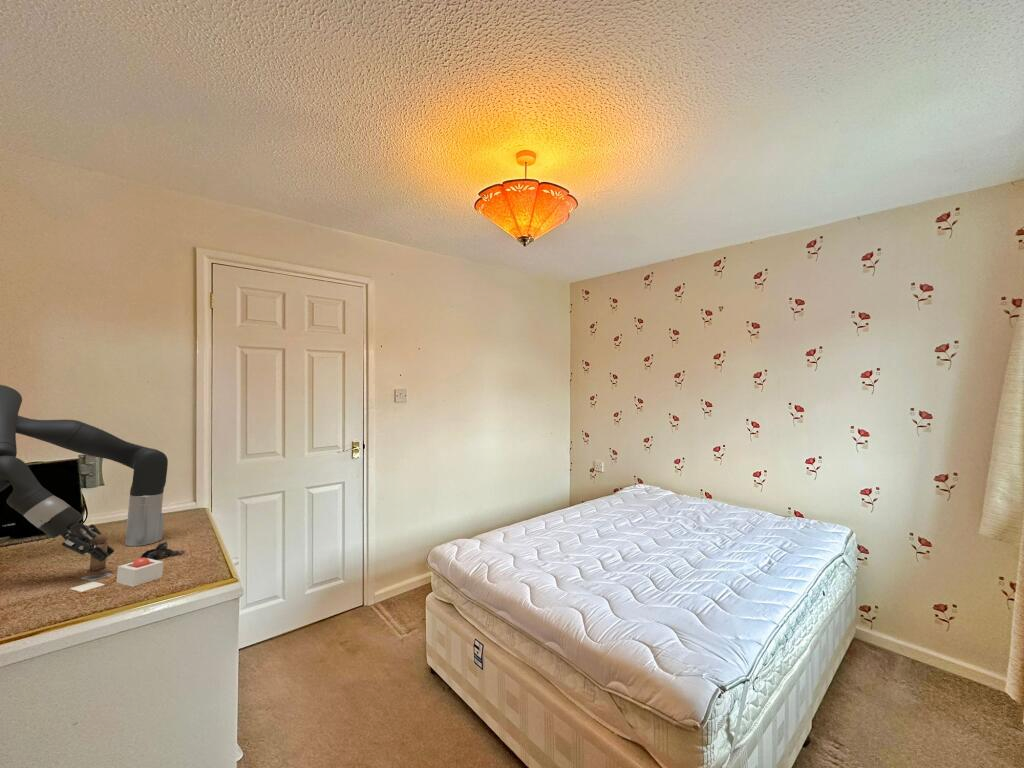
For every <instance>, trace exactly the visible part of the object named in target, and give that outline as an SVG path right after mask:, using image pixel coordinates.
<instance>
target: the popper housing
mask: <svg viewBox="0 0 1024 768" xmlns="http://www.w3.org/2000/svg"><path fill="white" fill-rule="evenodd" d="M147 559H149V558H147ZM149 561H150V563H151V564H149V565H146V566H142V567H139V568H135V567H132V565H133V563H134V562H135V561H131V562H129V563H125V564H122V565H118V566H117V573H116V583H117V584H121V585H125V586H127V587H132V588H134V587H137V586H139V585H140V586H141V585H143V584H146V583H149V582H153V581H155V580H158V579H161V578H163V571H164V561H162V560H159V559H158V560H155V559H154V558H152V559H149Z"/></svg>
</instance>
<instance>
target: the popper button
mask: <svg viewBox="0 0 1024 768" xmlns="http://www.w3.org/2000/svg"><path fill="white" fill-rule="evenodd" d="M133 562H134V563H133V565H132V567H135V568H139V567H142V566H146V565H149V564H151V563H150V561H149V559H147V558H140V557H139V558H137V559H135V560H134V561H133Z"/></svg>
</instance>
